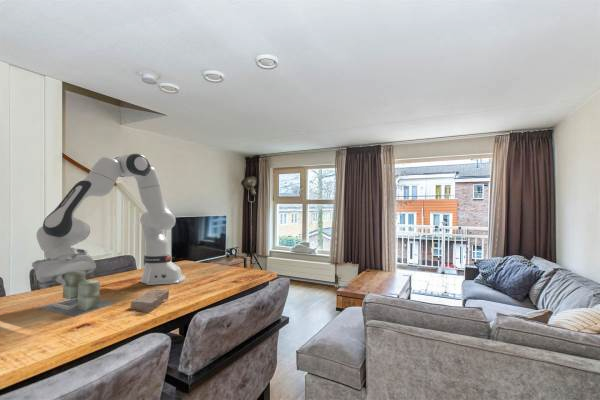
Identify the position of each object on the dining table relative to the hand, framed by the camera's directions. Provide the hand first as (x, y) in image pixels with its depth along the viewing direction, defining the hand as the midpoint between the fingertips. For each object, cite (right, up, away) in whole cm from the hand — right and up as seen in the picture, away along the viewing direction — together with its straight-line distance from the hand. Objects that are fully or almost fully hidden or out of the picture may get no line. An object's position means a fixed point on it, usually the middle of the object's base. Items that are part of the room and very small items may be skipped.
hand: (75, 283), depth 115 cm
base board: (+2, -10, -1) cm, 10 cm away
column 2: (+8, -8, -3) cm, 12 cm away
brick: (+28, -11, +5) cm, 31 cm away
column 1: (-1, -5, 0) cm, 5 cm away
